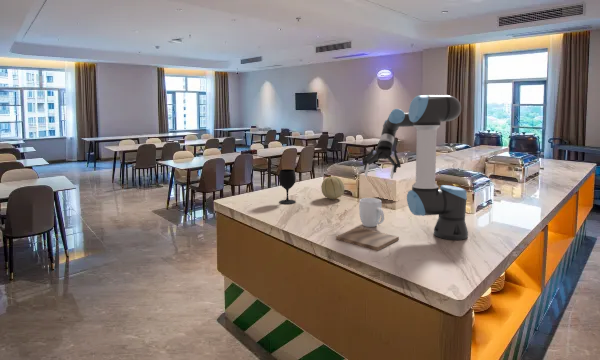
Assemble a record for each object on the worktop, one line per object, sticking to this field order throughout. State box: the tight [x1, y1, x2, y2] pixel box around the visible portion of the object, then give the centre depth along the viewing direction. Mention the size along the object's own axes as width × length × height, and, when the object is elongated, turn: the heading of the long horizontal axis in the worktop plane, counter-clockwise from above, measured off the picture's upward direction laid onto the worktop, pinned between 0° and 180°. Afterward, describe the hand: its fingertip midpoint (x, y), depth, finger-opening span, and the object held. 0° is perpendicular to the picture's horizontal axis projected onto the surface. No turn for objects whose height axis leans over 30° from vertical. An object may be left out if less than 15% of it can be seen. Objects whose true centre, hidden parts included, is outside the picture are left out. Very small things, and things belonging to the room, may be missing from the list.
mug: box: [358, 197, 385, 228], centre depth 212 cm, size 15×11×13 cm
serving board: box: [335, 227, 400, 251], centre depth 194 cm, size 22×18×2 cm
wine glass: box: [278, 168, 297, 205], centre depth 260 cm, size 10×10×20 cm
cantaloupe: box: [320, 175, 345, 200], centre depth 268 cm, size 15×15×15 cm
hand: (378, 176), depth 221 cm, fingers open, 13 cm apart
